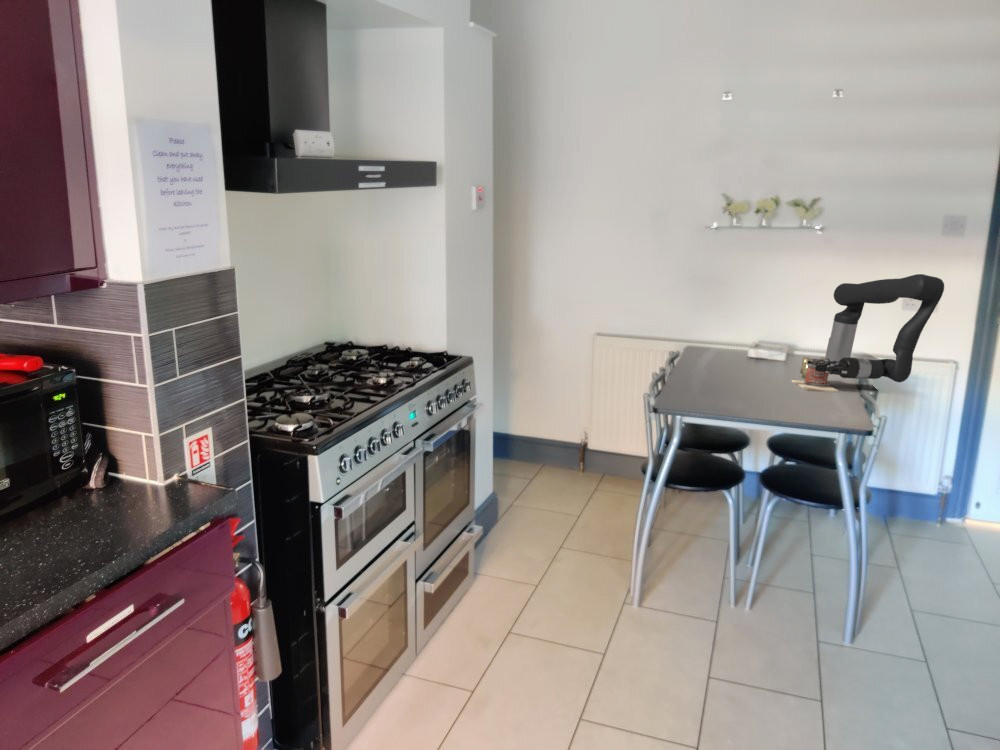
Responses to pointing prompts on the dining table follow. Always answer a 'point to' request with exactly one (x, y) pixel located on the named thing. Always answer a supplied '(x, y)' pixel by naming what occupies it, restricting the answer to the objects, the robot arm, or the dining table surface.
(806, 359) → the spacer posts
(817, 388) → the pad
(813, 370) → the lighter
